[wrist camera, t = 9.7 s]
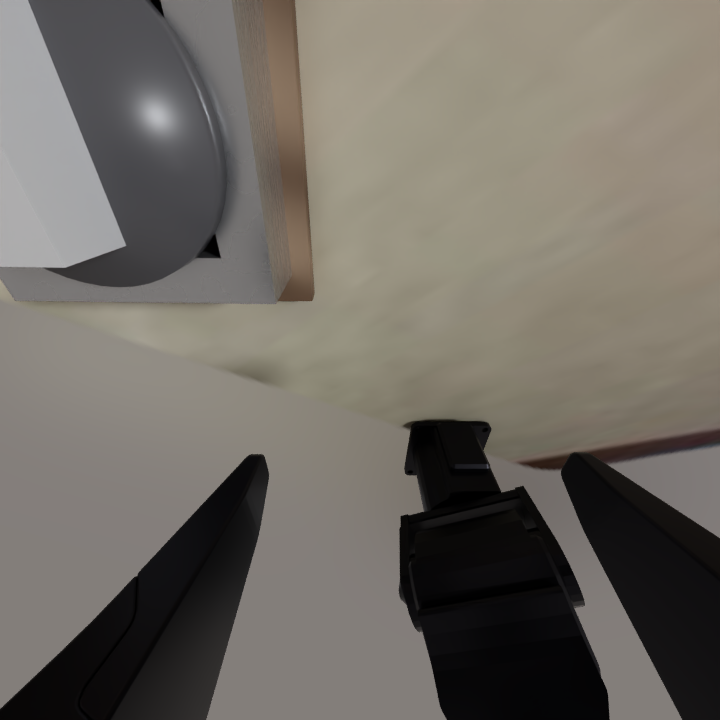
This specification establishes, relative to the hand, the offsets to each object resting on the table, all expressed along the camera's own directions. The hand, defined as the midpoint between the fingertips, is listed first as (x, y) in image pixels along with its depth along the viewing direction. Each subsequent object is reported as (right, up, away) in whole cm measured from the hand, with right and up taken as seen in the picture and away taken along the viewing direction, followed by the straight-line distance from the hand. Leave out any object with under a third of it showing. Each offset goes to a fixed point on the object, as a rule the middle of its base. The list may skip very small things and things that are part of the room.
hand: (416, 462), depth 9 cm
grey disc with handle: (-11, +12, +3) cm, 16 cm away
